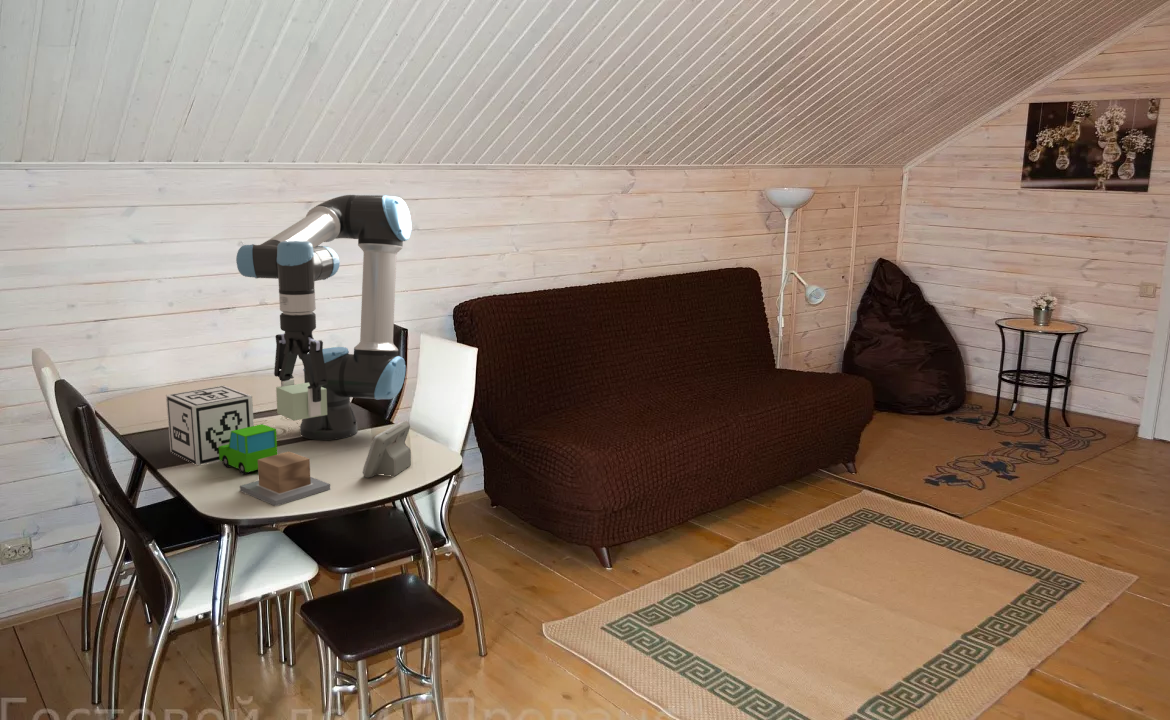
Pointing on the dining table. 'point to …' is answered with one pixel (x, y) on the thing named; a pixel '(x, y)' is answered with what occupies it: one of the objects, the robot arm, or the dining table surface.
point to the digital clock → (389, 452)
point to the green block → (297, 401)
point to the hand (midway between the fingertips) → (301, 411)
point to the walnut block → (284, 472)
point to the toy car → (249, 447)
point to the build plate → (287, 496)
